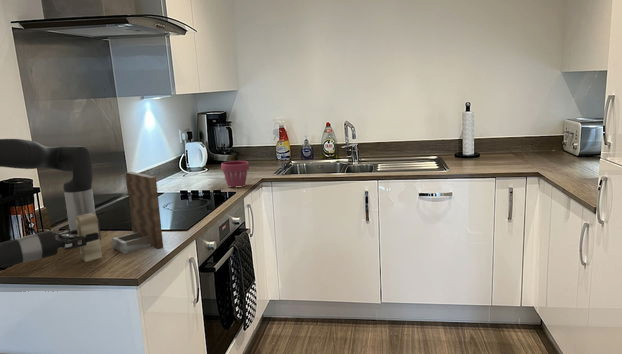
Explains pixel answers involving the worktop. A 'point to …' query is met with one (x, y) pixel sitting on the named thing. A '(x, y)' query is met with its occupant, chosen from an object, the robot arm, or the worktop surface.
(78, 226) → the ridged beige block
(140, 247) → the upright wooden board
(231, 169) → the plant pot
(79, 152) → the robot arm
